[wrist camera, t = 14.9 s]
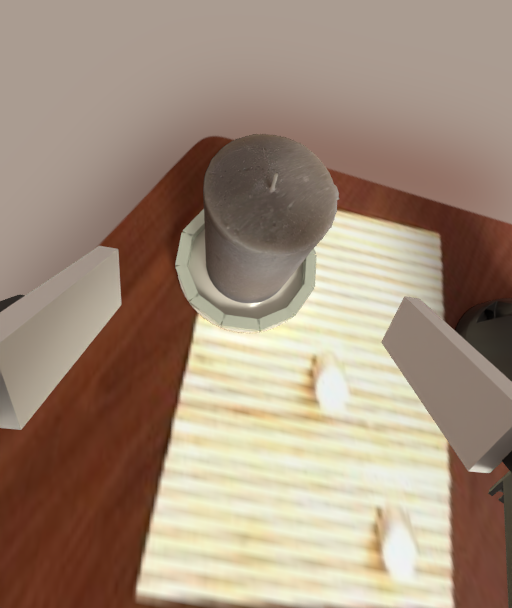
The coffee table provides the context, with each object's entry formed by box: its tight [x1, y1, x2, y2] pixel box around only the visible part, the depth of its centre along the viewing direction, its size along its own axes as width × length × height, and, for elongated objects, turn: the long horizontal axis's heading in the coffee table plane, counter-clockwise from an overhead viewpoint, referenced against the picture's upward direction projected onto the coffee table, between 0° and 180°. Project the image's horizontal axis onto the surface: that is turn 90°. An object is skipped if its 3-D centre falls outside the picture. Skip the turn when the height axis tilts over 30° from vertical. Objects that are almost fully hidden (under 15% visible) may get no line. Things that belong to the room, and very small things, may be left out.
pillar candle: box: [203, 134, 339, 303], centre depth 25 cm, size 10×10×15 cm
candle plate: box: [175, 209, 316, 333], centre depth 32 cm, size 16×16×2 cm
